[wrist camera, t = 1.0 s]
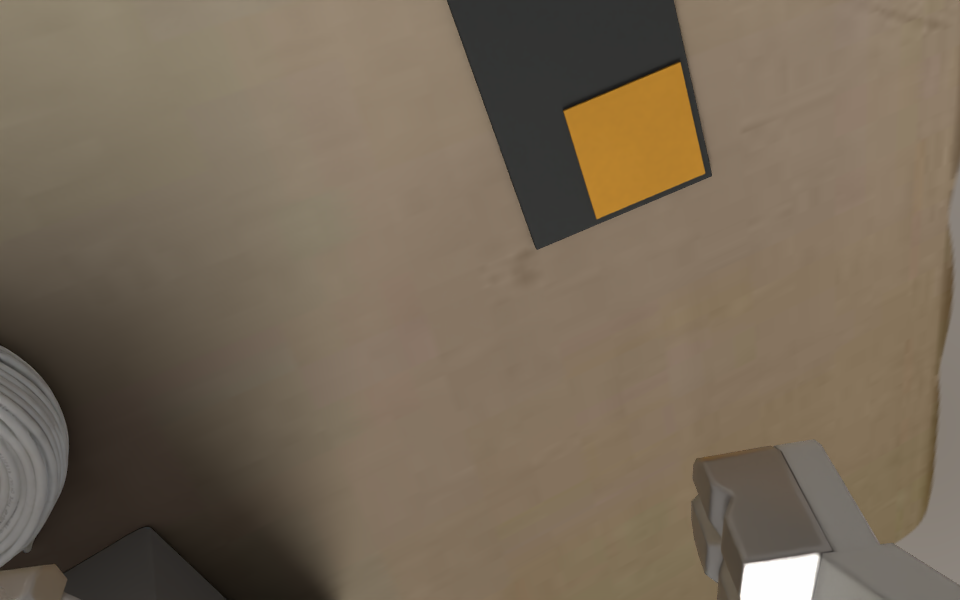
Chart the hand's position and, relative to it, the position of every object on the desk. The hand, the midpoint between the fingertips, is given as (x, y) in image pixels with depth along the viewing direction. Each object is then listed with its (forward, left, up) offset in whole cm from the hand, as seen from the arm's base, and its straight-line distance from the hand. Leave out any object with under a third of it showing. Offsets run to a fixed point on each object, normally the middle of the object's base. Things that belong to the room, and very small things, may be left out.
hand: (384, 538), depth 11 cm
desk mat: (+10, +14, -43) cm, 46 cm away
